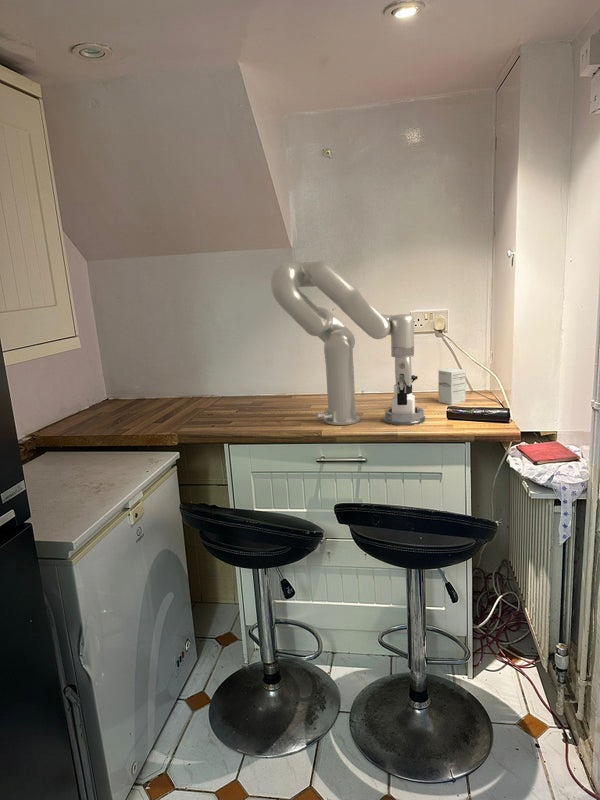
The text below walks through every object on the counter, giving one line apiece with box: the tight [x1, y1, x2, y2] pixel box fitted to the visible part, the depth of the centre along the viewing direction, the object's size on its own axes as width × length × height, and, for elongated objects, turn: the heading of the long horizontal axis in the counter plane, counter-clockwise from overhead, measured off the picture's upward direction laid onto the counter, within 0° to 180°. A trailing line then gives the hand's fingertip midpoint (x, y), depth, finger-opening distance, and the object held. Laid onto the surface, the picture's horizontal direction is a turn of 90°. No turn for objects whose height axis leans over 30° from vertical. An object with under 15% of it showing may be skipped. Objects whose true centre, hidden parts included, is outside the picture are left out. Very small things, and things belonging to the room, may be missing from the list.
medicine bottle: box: [391, 383, 416, 414], centre depth 196 cm, size 7×7×12 cm
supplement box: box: [437, 367, 467, 406], centre depth 218 cm, size 7×7×13 cm
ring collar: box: [383, 406, 426, 426], centre depth 197 cm, size 14×14×4 cm
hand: (403, 401), depth 196 cm, fingers open, 9 cm apart
